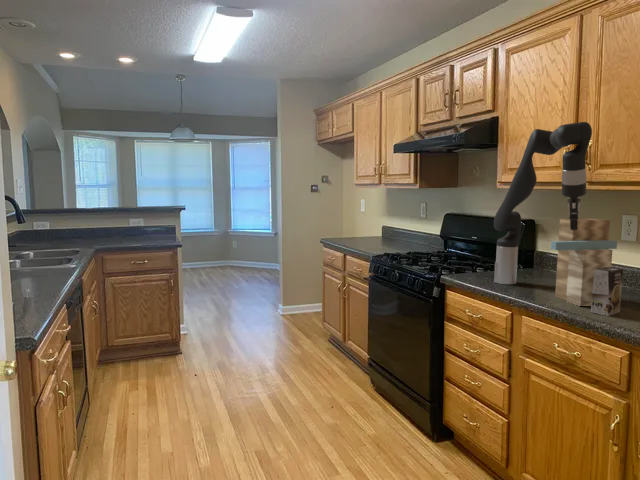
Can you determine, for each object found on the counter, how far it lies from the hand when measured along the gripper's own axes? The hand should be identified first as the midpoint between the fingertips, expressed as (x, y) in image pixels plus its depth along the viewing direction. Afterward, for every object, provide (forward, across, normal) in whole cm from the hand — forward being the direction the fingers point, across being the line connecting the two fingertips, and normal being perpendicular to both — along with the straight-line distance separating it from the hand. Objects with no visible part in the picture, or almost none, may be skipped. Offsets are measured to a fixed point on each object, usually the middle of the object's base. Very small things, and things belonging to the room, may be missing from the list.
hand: (573, 225), depth 174 cm
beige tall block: (+35, +8, -4) cm, 36 cm away
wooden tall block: (+36, +16, -2) cm, 40 cm away
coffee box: (+32, -3, -10) cm, 34 cm away
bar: (+13, +11, -3) cm, 18 cm away
